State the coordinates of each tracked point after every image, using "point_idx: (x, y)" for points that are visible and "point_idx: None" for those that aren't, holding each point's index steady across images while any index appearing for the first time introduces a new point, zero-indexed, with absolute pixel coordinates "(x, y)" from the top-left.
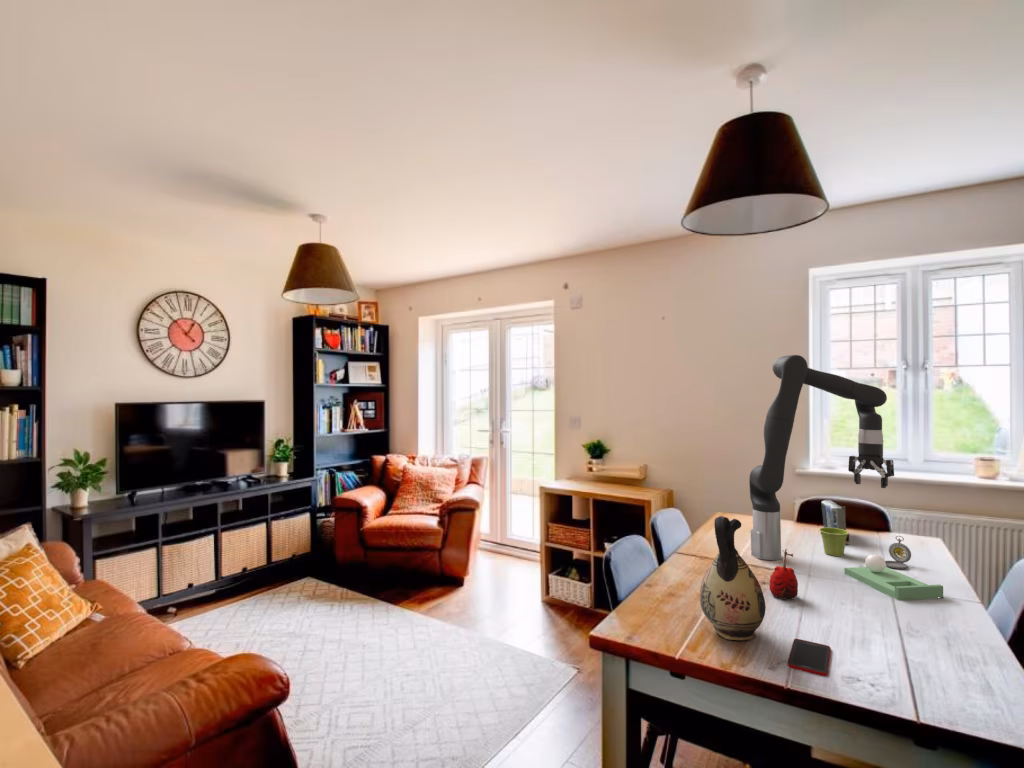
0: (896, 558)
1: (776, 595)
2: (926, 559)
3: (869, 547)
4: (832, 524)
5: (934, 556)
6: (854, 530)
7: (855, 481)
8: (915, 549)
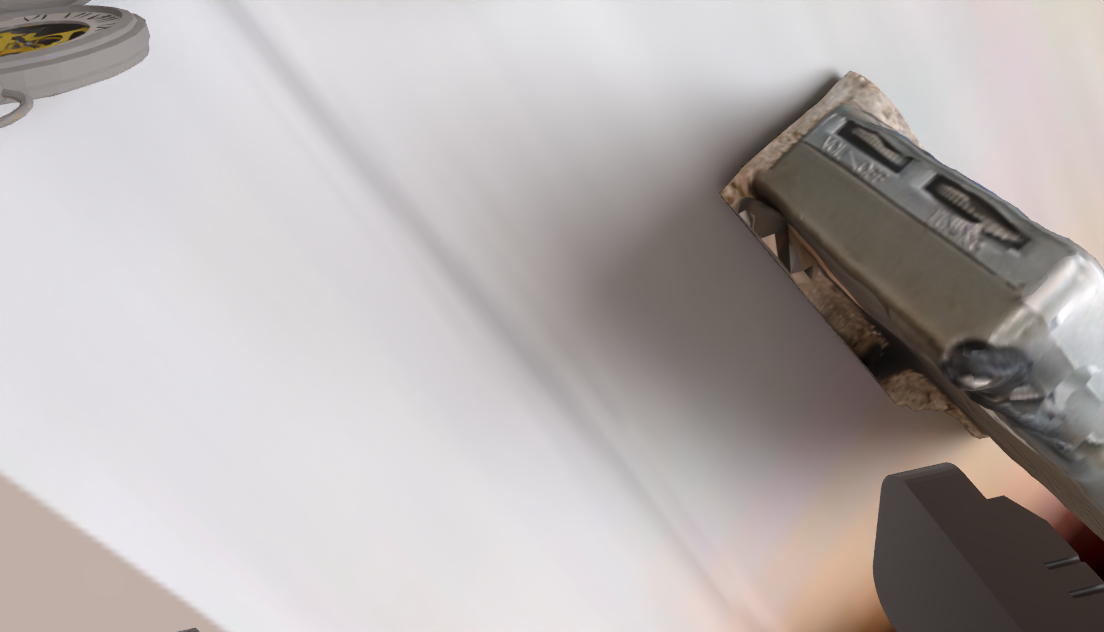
0: (68, 16)
1: None
2: (126, 403)
3: (583, 282)
4: (945, 166)
5: (175, 527)
6: None
7: (999, 520)
8: (374, 555)
